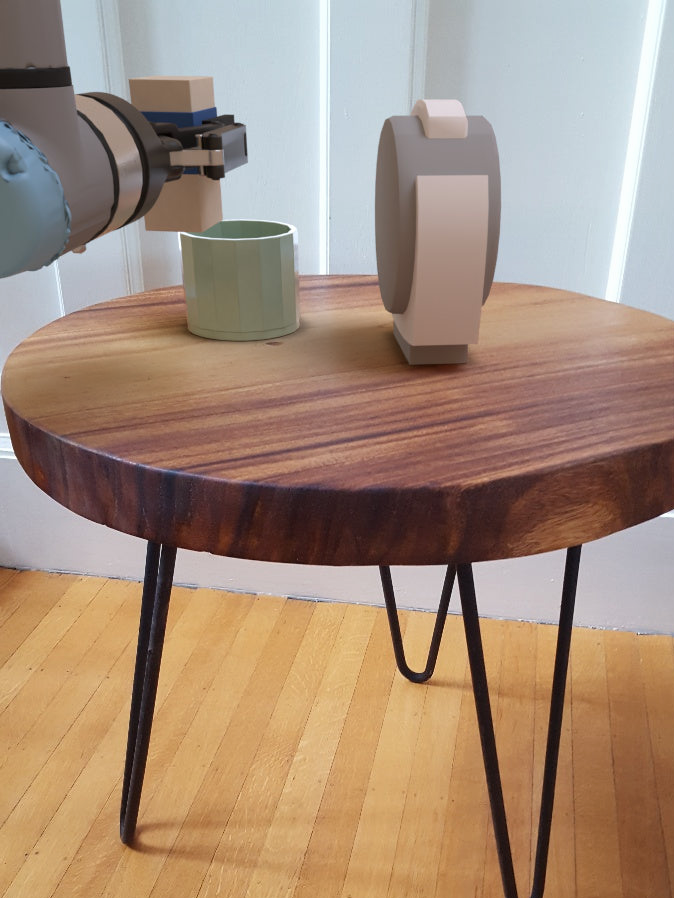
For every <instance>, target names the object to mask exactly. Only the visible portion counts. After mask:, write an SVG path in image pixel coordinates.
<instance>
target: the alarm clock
mask: <svg viewBox="0 0 674 898" xmlns="http://www.w3.org/2000/svg"><path fill="white" fill-rule="evenodd" d="M377 145H378V146H377V154H376V167H375V180H374V181H375V184H374V185H375V186H374V241H375V259H376V260H375V261H376V272H377V281H378V288H379V294H380V298H381V301H382V304H383V306H384V309H385V310H386V311H387V312H388V313H390V314H391V316H392V319H393V325H392V327H393V329H392V331H393V332H392V333H393V336H394V338H395V340H396V341H397V344H398V346H399V347H400V349H401V351H402V354H403V355H404V357H405V359H406V361H407V363H408V364H409V366H412V365H446V364H467V363H468V350H469V345H479V344H478V343H479V336H480V327H481V317H482V308H483V307H484V306H485V304H486V302H487V300H488V298H489V296H490V293H491V289H492V286H493V282H494V280H495V279H494V278H495V272H496V267H497V262H498V253H499V245H500V237H501V236H500V235H501V217H502V177H501V164H500V153H499V148H498V142H497V137H496V134H495V132H494V129H493V126H492V124H491V123H490V122H489V120H487V119H486V117H484V116H483V115H466V111H465V108H464V107H463V104H462V102H460V101H459V100H458V99H427V98H425V99H417V100H416V101H415V103H414V105H413V107H412V110H411V112H410V115H391V116H389V117H387V118H386V119H384V122H383V124H382V128H381V131H380V135H379V140H378V144H377Z"/></svg>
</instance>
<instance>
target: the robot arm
mask: <svg viewBox="0 0 674 898" xmlns="http://www.w3.org/2000/svg"><path fill="white" fill-rule="evenodd" d="M72 80H73V79H72V73H71V66H69V63H68V55H67V45H66V39H65V30H64V21H63V12H62V3H61V0H0V280H2V279H6V278H9V277H13V276H17V275H19V274H22V273H26V272H36V271H38V270H42V269H43V267H46V268H47V267H49V266H51V265H52V264H53V263H55V261H57V260H58V259H60V258H61V257H62V256H64V255H66V254H67V253H70V252H72V254H79V255H81V254H83V253H85V252H86V251H87V244H89V243H91V242H92V241H95V240H97V239H98V238H100V237H103V236H105V235H108V234H109V233H112V232H115V231H118V230H121V229H122V228H125V227H127V226H128V225H130V224H133V223H135V222H137V221H139V220H141V219H142V218H144V215H146V214H147V213H148V212H149V211H150V210H151V208H152V207H153V206H154V204H155V203H156V201H157V199H158V197H159V195H160V192H161V190H162V187H163V185H164V183H166V182H170V181H175V180H179V179H180V178H181V176H182V173H183V172H184V170H187V169H192V168H197V167H198V175H199V176H206V177H207V178H211V179H212V180H220V181H221V179H225V178H226V173H227V174H228V172H230V171H233V170H235V169H237V168H240V167H241V166H244V165H247V164H248V163H249V155H248V153H249V152H248V137H247V136H248V135H247V125H246V124H244V123H242V122H235V114H222V115H217V117H214V118H210V119H206V120H203V121H202V125H197V126H190V127H183V128H178V127H177V125H176V124H175V123H155V122H150V121H148V120H147V119H146V118H145V117H144V115H143V114H142V113H141V112H140V111H139V110H138V109H137V108H135V107H134V106H133V105H132V104H131V102H129V101H128V100H126V99H124V98H122V97H120V96H118V95H115V94H112V93H109V92H104V91H89V92H88V91H87V92H80V93H75V89H74V84H73V81H72Z"/></svg>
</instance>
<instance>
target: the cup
mask: <svg viewBox="0 0 674 898" xmlns="http://www.w3.org/2000/svg"><path fill="white" fill-rule="evenodd" d="M177 236H178V237H177V238H178V247H179V258H180V259H179V260H180V269H181V279H182V291H183V301H184V312H185V318H186V323H187V330H188V331H189V332H190V333H192V334H193V335H195V336H198V337H202V338H206V339H211V340H219V341H231V342H234V341H235V342H246V341H247V342H250V341H261V340H267V339H268V340H269V339H276V338H280V337H284V336H287V335H290V334H292V333H294V332H296V331H297V330H298V329H299V328H300V326H301V325H300V318H301V294H300V291H301V290H300V264H299V261H300V260H299V233H298V228H297V227H296V226H295V225H293V224H289V223H287V222H286V223H285V222H282V221H273V220H266V219H265V220H264V219H242V218H241V219H240V218H239V219H223V220H222V221H220V222H219V223H217V224H215V225H214V226H212V227H210V228H209V229H207V230H205V231H204V232H202V233H195V232H177Z"/></svg>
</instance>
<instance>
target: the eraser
mask: <svg viewBox="0 0 674 898" xmlns="http://www.w3.org/2000/svg"><path fill="white" fill-rule="evenodd" d="M128 86H129V95H130V104H132V105H133V106H134V107H135V108H137V109H138V110H139V111H140V112H141V113H142V114H143V115H144V117H145V118H146V119H147V120H148V121H150V122H155V123H175V124H176V125H177V127H178V128H183V127H190V126H197V125H202V121H203V120H206V119H210V118H214V117H217V116H218V110H217V109H218V108H217V106H216V105H215V104H216V103H215V90H214V77H213V76H208V75H207V76H201V75H198V76H197V75H149V76H140V77H132V78H128ZM221 187H222V186H221V179H220V180H212V179H211V178H207V177H206V176H199V175H198V167H197V168H192V169H187V170H184V172H183V173H182V176H181V178H180V179H179V180H175V181H170V182H166V183H164V185H163V187H162V190H161V192H160V195H159V197H158V199H157V201H156V203H155V204H154V206H153V207H152V208H151V210H150V211H149V212H148V213H147V214H146V215H144V216H143V219H144V229H145V231H146V232H169V233H170V232H171V233H178V232H195V233H202V232H204V231H205V230H207V229H209V228H210V227H212V226H214V225H215V224H217V223H219V222H220V221H222V220H224V215H223V202H222V188H221Z"/></svg>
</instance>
